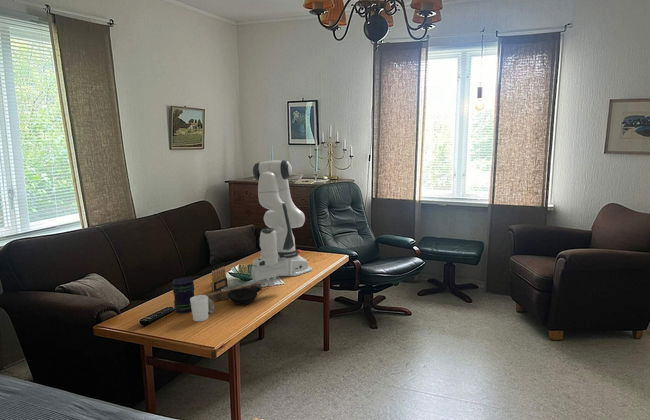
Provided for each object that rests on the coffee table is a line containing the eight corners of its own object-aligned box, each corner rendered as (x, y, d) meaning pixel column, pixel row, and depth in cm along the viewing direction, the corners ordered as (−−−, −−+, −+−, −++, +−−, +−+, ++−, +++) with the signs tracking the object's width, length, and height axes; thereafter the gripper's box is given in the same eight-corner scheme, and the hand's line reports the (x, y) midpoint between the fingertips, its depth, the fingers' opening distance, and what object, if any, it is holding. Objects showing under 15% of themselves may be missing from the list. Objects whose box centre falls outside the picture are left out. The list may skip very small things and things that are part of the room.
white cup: (193, 323, 198) (191, 302, 196) (191, 317, 205) (189, 296, 204) (211, 320, 201) (209, 299, 199) (208, 314, 208) (206, 293, 207)
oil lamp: (270, 296, 228) (269, 287, 227) (244, 309, 212) (243, 299, 211) (248, 292, 236) (248, 283, 235) (221, 304, 220) (221, 295, 219)
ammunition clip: (214, 292, 239) (212, 270, 238) (211, 291, 240) (210, 270, 238) (227, 286, 248) (226, 265, 247) (225, 285, 249) (223, 265, 248)
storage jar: (195, 304, 221) (192, 276, 219) (197, 311, 212) (194, 281, 210) (174, 308, 218) (171, 279, 216) (175, 315, 209) (172, 284, 206)
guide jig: (259, 289, 240) (259, 280, 240) (272, 296, 228) (272, 287, 227) (199, 304, 222) (198, 294, 221) (210, 312, 210) (209, 302, 209)
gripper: (284, 255, 238) (285, 280, 240) (249, 261, 227) (250, 287, 228) (290, 257, 233) (291, 282, 234) (254, 264, 221) (256, 290, 223)
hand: (271, 285), depth 231 cm, fingers closed
